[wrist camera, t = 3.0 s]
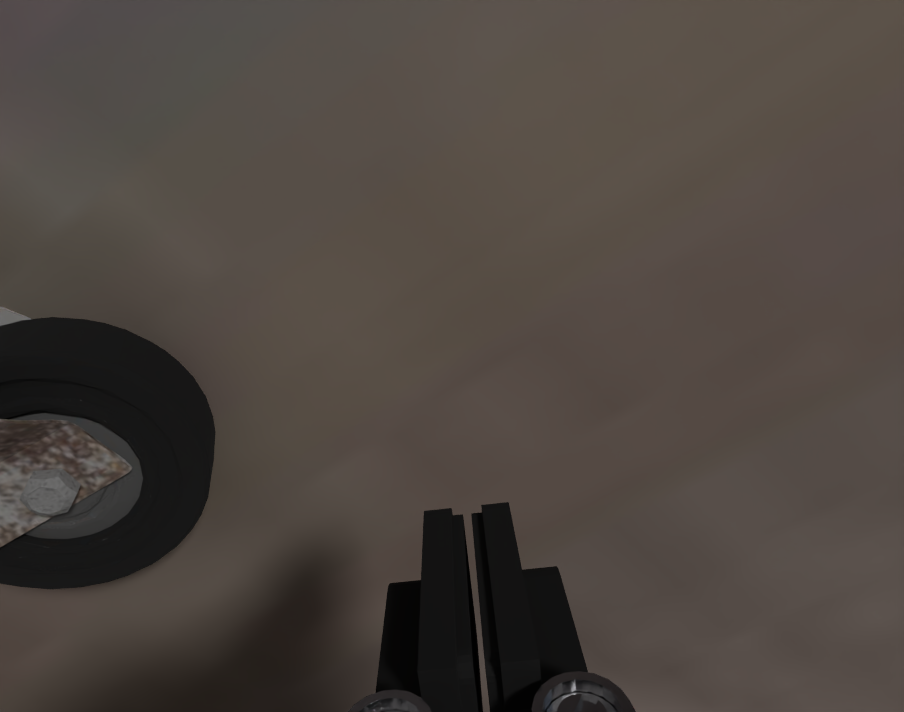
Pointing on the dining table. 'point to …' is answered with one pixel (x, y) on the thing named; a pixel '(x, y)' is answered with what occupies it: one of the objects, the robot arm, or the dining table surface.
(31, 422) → the caster wheel
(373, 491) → the dining table surface
